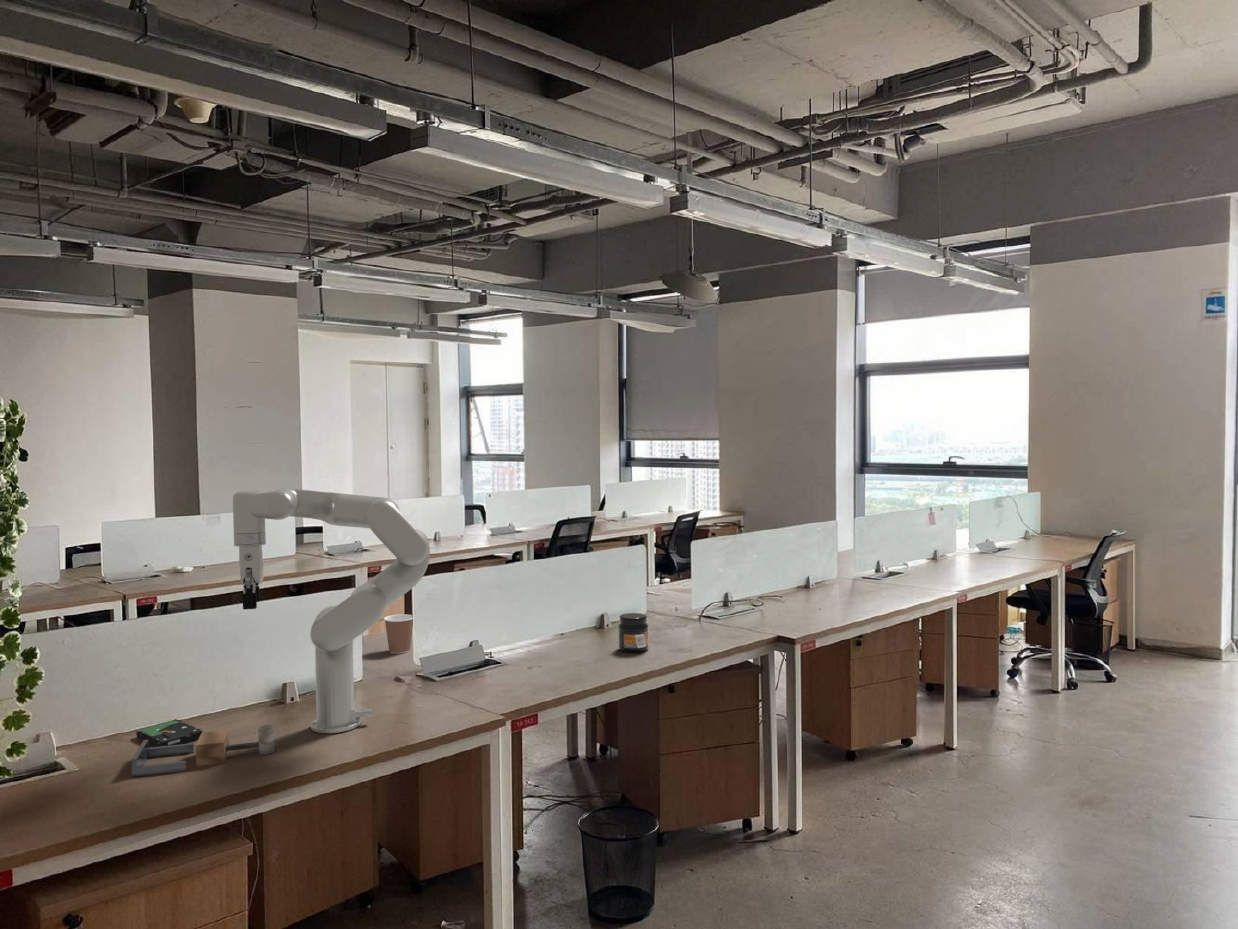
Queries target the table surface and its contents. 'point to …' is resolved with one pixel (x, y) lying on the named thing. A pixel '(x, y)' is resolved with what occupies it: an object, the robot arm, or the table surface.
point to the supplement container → (633, 633)
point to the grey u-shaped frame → (146, 752)
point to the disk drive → (169, 733)
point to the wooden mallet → (217, 745)
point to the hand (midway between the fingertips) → (251, 605)
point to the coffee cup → (399, 632)
